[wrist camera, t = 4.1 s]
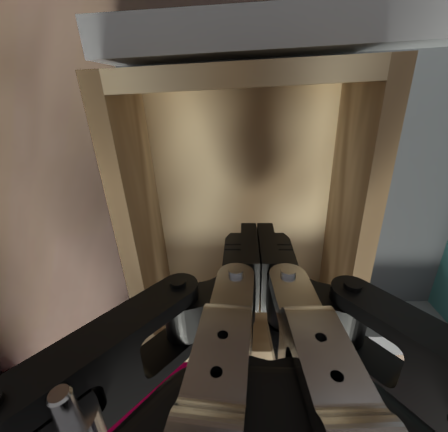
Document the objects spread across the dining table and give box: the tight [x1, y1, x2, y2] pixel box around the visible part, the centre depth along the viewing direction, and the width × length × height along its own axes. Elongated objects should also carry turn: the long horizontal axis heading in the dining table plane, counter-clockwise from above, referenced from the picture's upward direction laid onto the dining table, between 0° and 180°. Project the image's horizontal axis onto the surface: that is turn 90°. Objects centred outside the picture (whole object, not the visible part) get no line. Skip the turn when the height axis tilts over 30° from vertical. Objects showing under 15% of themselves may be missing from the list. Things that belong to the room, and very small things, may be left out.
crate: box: [75, 50, 418, 362], centre depth 14 cm, size 11×14×5 cm
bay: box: [75, 0, 448, 355], centre depth 14 cm, size 20×18×6 cm
